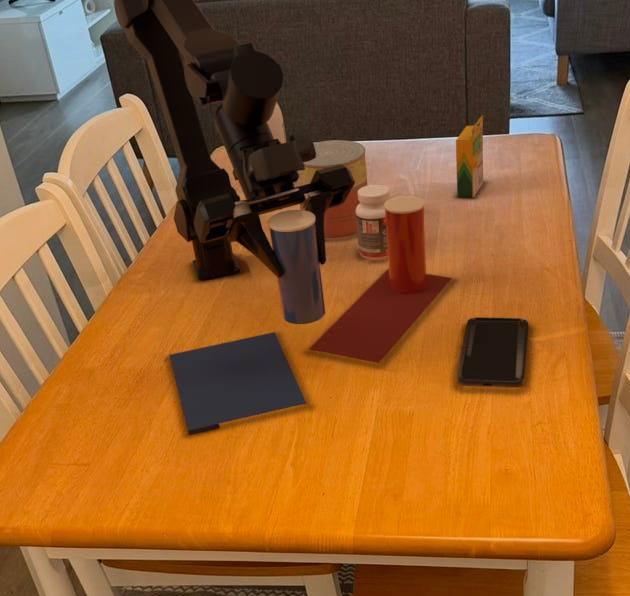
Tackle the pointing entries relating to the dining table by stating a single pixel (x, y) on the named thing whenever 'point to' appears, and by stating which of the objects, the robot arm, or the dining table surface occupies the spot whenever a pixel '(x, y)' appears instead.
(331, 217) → the canned food
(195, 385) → the blue mat
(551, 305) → the dining table surface
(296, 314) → the blue canister
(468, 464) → the dining table surface
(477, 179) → the crayon box
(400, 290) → the red canister
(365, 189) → the pill bottle
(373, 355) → the red mat
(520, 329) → the phone
